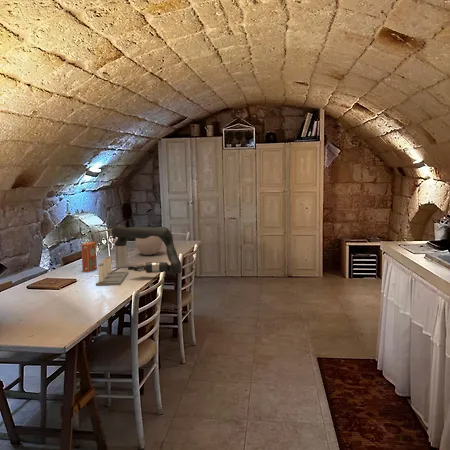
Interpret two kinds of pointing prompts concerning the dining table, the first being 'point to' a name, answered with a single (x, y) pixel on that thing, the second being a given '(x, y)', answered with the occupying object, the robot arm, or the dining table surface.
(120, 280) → the base
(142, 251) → the plant pot
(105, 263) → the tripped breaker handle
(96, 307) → the dining table surface
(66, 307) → the dining table surface
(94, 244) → the orange carton box
